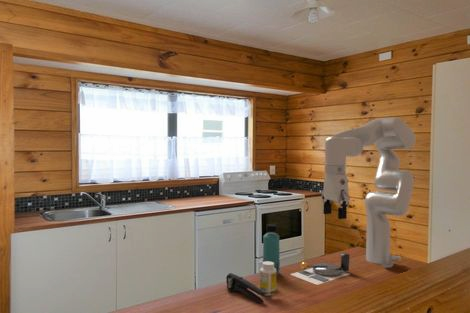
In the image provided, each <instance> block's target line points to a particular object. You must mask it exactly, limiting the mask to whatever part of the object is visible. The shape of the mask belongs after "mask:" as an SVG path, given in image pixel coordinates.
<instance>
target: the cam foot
mask: <svg viewBox="0 0 470 313" xmlns="http://www.w3.org/2000/svg"><path fill="white" fill-rule="evenodd" d="M300 267H301V269H303V270H307V269H308V268H313V272H315V273H317V274H320V275H324V276H338V275H341V274H342V271H344V272H348V271H350V254H349V253H348V252H347V253H346V252H341V253H340V265H338V264H335V263H329V262H317V263H316V262H315V263H313V264H308V263H307V262H304V261H303V262H301V264H300Z"/></svg>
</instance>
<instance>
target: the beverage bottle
mask: <svg viewBox="0 0 470 313" xmlns="http://www.w3.org/2000/svg"><path fill="white" fill-rule="evenodd" d="M265 227H266V229H265V231H267V232H266V233H265V234H264V235H263V236H262V238H263V241H262V242H263V245H262V263H263V262H265V261H270V262H273V263H274V268H275V269H276V276H279V274H280V268H281V267H280V260H281V259H280V235H279V234H278V233H276V232H277V231H278V229H277V228H278V226H277V224H270V223H269V224H266V226H265Z"/></svg>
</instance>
